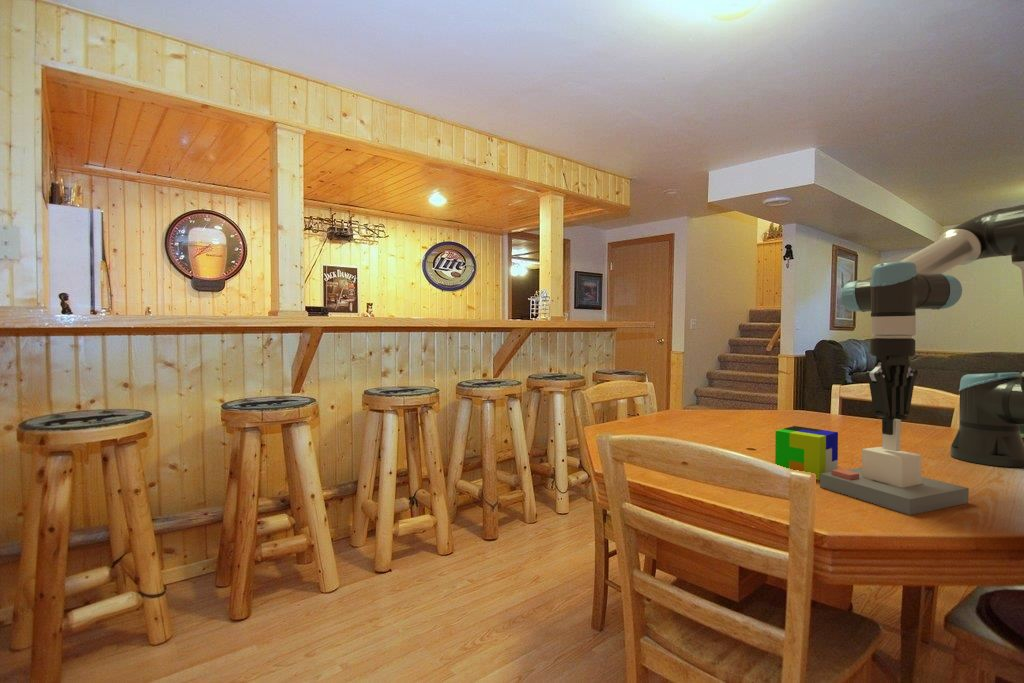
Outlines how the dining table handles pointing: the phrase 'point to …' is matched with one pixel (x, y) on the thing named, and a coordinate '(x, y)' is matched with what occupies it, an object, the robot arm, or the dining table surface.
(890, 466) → the plug
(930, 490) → the socket plate
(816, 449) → the puzzle toy
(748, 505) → the dining table surface
